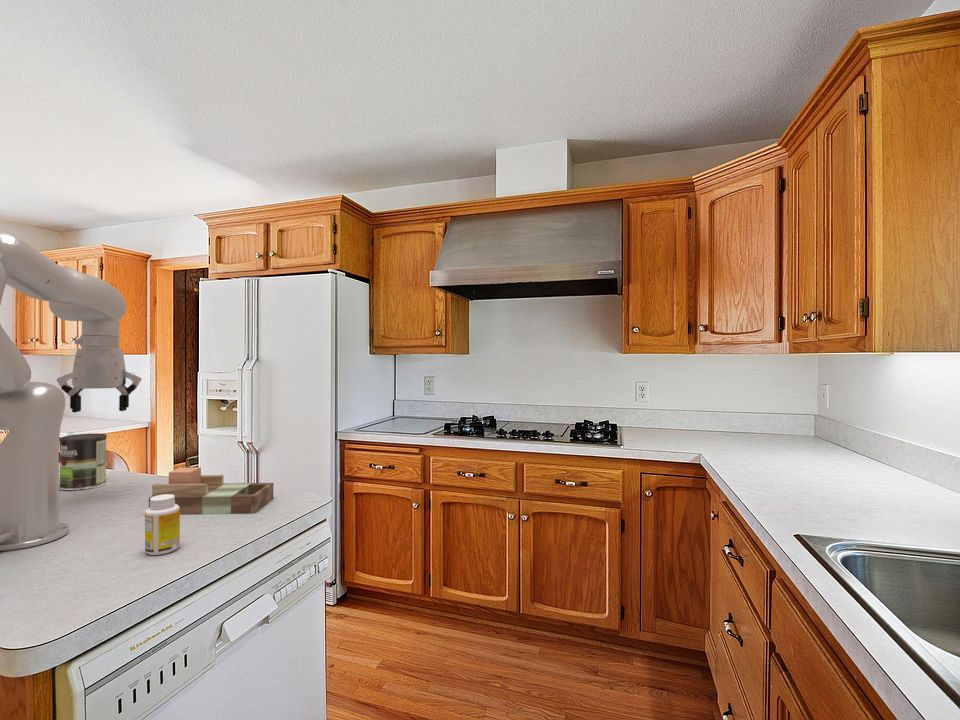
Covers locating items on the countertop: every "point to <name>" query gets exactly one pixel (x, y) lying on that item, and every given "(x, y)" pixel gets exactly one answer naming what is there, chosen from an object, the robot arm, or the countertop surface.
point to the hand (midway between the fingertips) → (100, 411)
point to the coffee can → (82, 461)
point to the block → (185, 476)
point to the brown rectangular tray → (217, 496)
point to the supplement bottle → (162, 525)
